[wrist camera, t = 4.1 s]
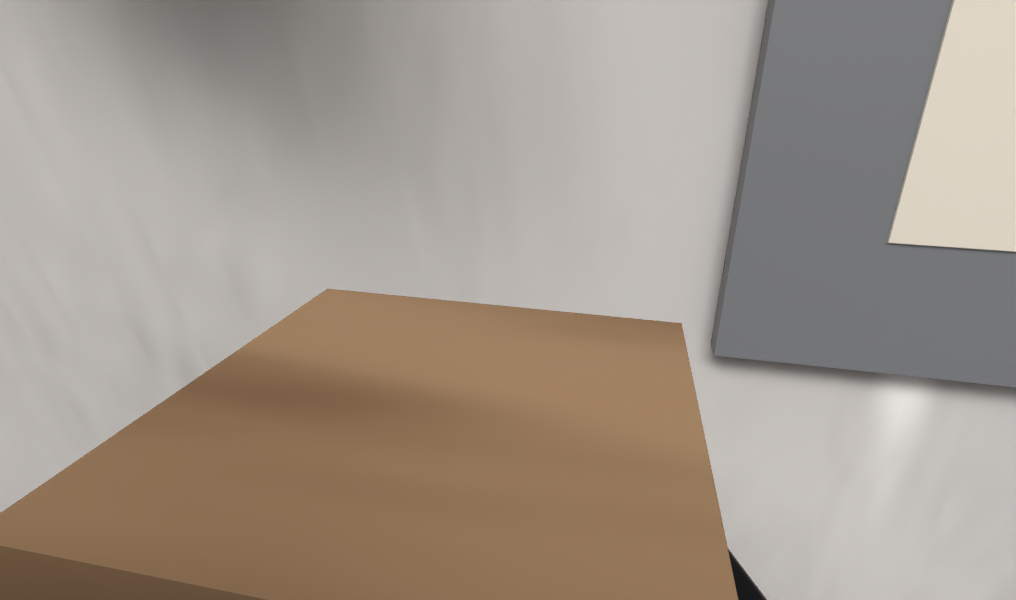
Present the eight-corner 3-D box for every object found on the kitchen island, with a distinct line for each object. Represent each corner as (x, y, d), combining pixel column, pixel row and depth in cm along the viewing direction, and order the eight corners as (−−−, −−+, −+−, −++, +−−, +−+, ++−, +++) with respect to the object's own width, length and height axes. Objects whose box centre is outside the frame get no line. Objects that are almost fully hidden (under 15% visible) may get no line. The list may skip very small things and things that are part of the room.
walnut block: (640, 606, 9) (648, 1111, 5) (352, 553, 10) (124, 939, 6) (681, 322, 8) (759, 699, 3) (327, 289, 8) (-38, 537, 4)
